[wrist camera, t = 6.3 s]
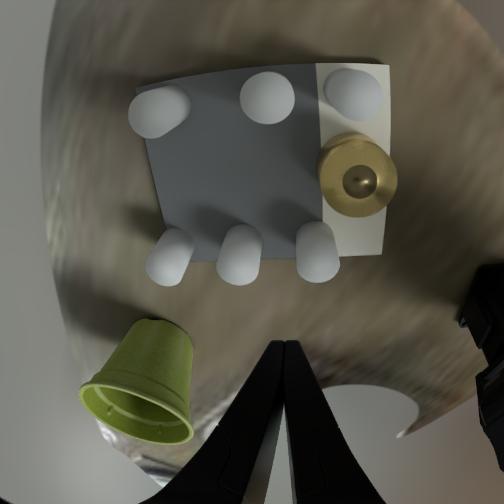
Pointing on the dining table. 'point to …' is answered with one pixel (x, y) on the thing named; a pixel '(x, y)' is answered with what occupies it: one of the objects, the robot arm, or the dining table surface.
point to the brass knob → (355, 175)
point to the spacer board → (257, 166)
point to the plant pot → (145, 385)
